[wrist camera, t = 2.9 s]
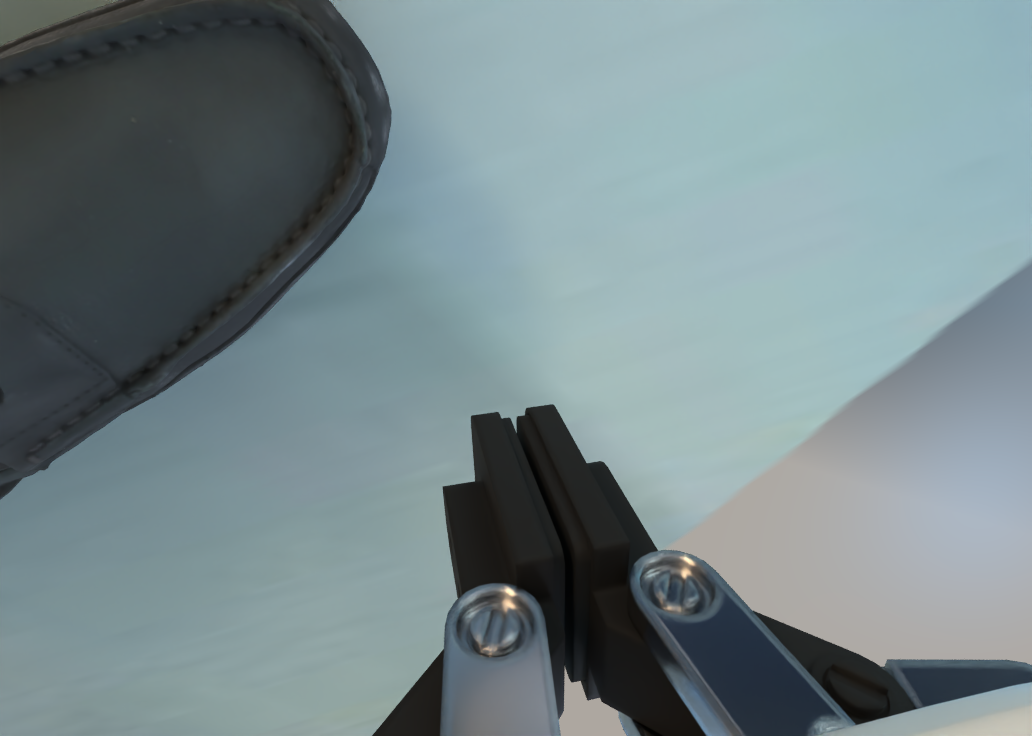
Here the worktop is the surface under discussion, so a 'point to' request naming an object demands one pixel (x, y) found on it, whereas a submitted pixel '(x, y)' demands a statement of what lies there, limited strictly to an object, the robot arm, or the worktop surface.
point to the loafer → (164, 196)
